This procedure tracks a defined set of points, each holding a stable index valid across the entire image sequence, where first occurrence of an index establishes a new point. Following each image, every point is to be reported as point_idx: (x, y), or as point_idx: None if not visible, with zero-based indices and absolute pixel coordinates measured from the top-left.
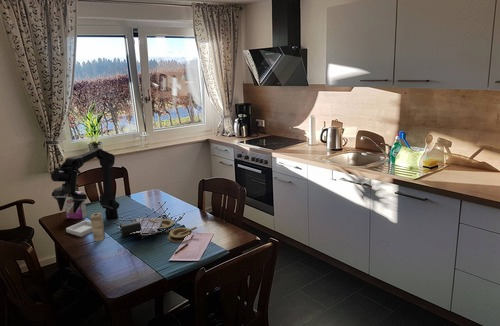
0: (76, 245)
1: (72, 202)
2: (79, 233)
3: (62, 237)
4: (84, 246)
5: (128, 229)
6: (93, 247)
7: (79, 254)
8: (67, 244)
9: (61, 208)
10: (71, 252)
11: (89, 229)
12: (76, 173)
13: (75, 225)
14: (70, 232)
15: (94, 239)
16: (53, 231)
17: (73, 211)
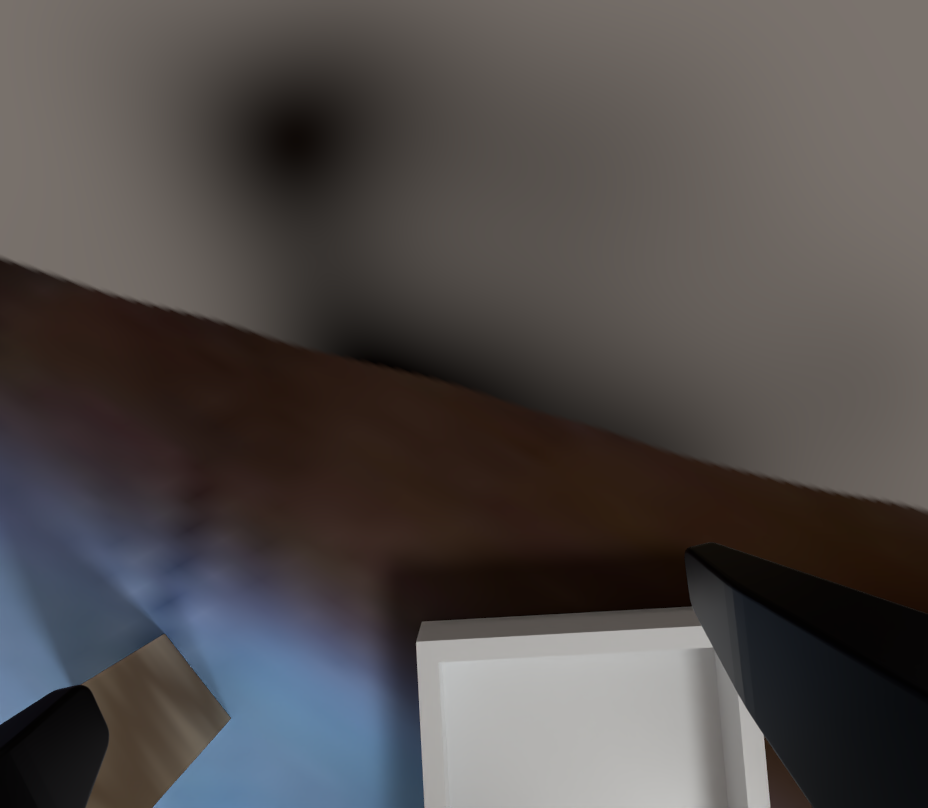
0: (260, 451)
1: None
2: (440, 634)
3: (624, 488)
4: (150, 486)
5: None
6: (31, 526)
7: (30, 340)
8: (382, 409)
9: (724, 625)
10: (154, 320)
11: (425, 791)
12: None
13: (741, 768)
14: (641, 614)
15: (145, 647)
16: (911, 529)
17: (38, 708)
